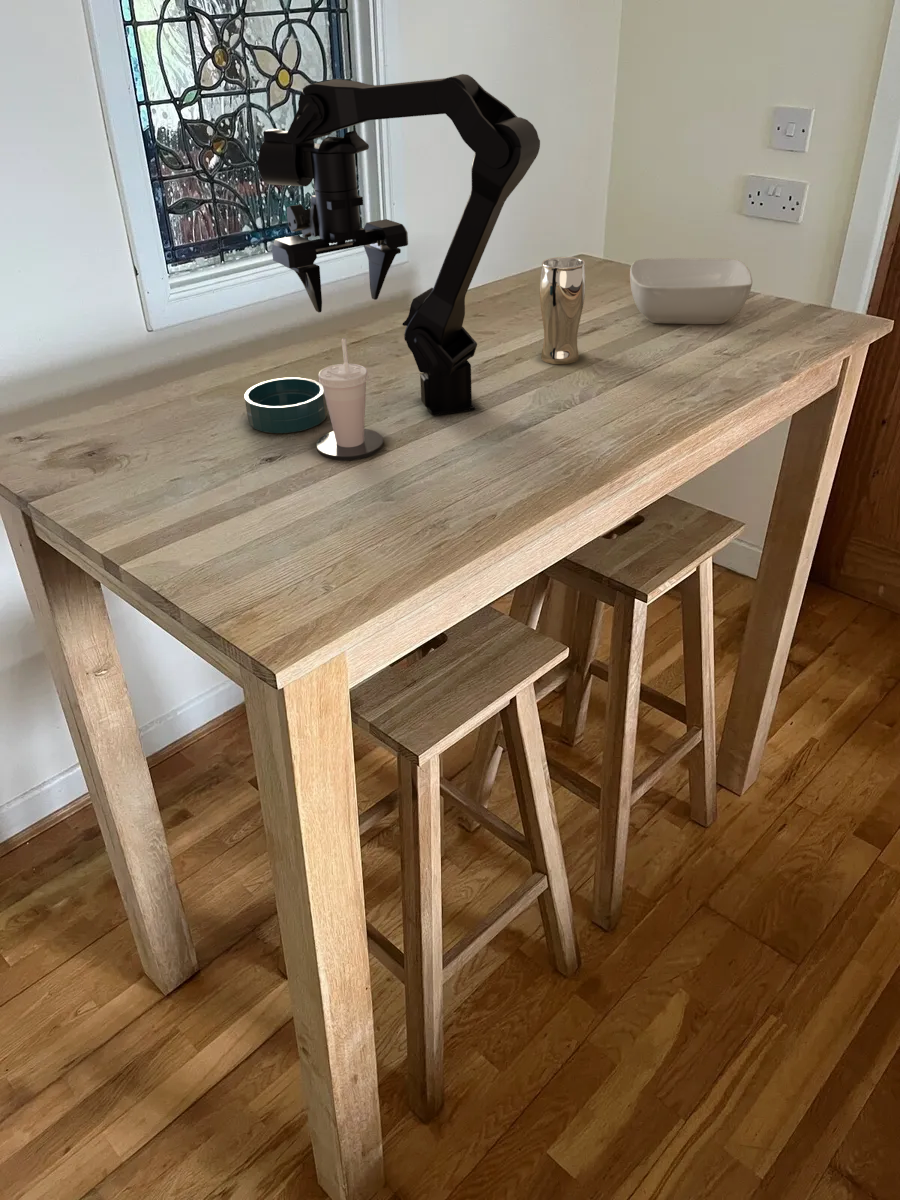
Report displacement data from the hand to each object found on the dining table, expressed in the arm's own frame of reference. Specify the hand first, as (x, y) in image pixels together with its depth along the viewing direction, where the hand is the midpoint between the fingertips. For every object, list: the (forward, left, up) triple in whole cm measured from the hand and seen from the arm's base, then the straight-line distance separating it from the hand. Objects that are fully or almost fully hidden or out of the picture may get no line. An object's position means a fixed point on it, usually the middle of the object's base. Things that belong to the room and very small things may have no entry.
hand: (347, 305), depth 131 cm
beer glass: (-34, -3, -13) cm, 37 cm away
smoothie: (+4, +19, -13) cm, 23 cm away
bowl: (-63, -17, -13) cm, 67 cm away
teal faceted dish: (+11, +7, -13) cm, 18 cm away
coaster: (+4, +19, -13) cm, 23 cm away
